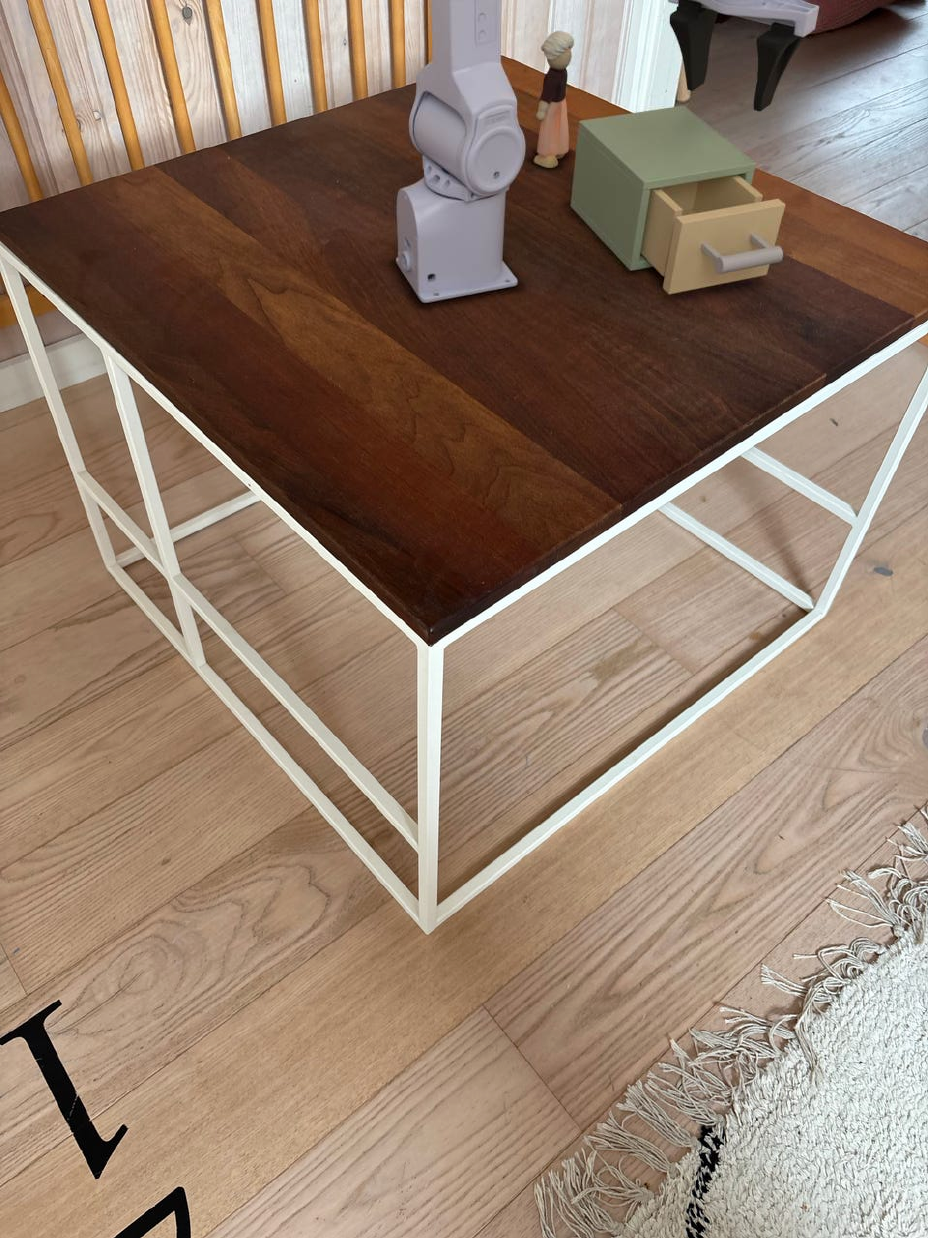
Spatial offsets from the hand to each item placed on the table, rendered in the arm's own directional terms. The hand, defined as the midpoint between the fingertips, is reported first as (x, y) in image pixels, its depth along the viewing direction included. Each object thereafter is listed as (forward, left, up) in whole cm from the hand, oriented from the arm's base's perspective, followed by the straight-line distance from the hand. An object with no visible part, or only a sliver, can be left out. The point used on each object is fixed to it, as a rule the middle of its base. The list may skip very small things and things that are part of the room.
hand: (728, 96), depth 97 cm
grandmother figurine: (-12, +14, -10) cm, 21 cm away
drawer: (-9, -13, -9) cm, 18 cm away
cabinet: (-9, -4, -10) cm, 14 cm away
